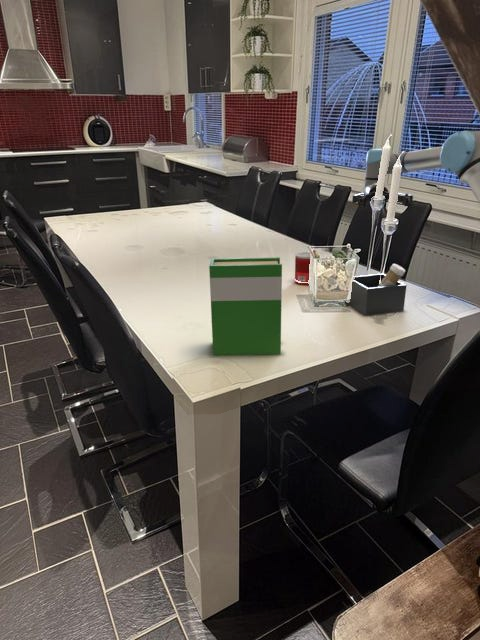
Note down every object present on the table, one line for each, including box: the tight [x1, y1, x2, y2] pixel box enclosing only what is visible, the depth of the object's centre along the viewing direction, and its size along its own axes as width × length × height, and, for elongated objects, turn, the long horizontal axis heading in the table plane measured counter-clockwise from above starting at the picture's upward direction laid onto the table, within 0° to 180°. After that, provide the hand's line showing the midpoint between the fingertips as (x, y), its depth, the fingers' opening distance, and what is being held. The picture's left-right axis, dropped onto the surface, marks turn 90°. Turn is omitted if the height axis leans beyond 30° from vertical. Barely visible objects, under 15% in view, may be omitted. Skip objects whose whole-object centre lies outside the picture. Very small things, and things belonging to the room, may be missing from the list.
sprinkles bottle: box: [378, 263, 406, 287], centre depth 150 cm, size 5×5×14 cm
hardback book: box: [208, 256, 283, 356], centre depth 121 cm, size 18×7×24 cm, turn 90°
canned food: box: [294, 251, 311, 286], centre depth 178 cm, size 8×8×11 cm
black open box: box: [347, 273, 408, 317], centre depth 152 cm, size 14×14×9 cm
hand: (385, 202), depth 154 cm, fingers open, 13 cm apart
